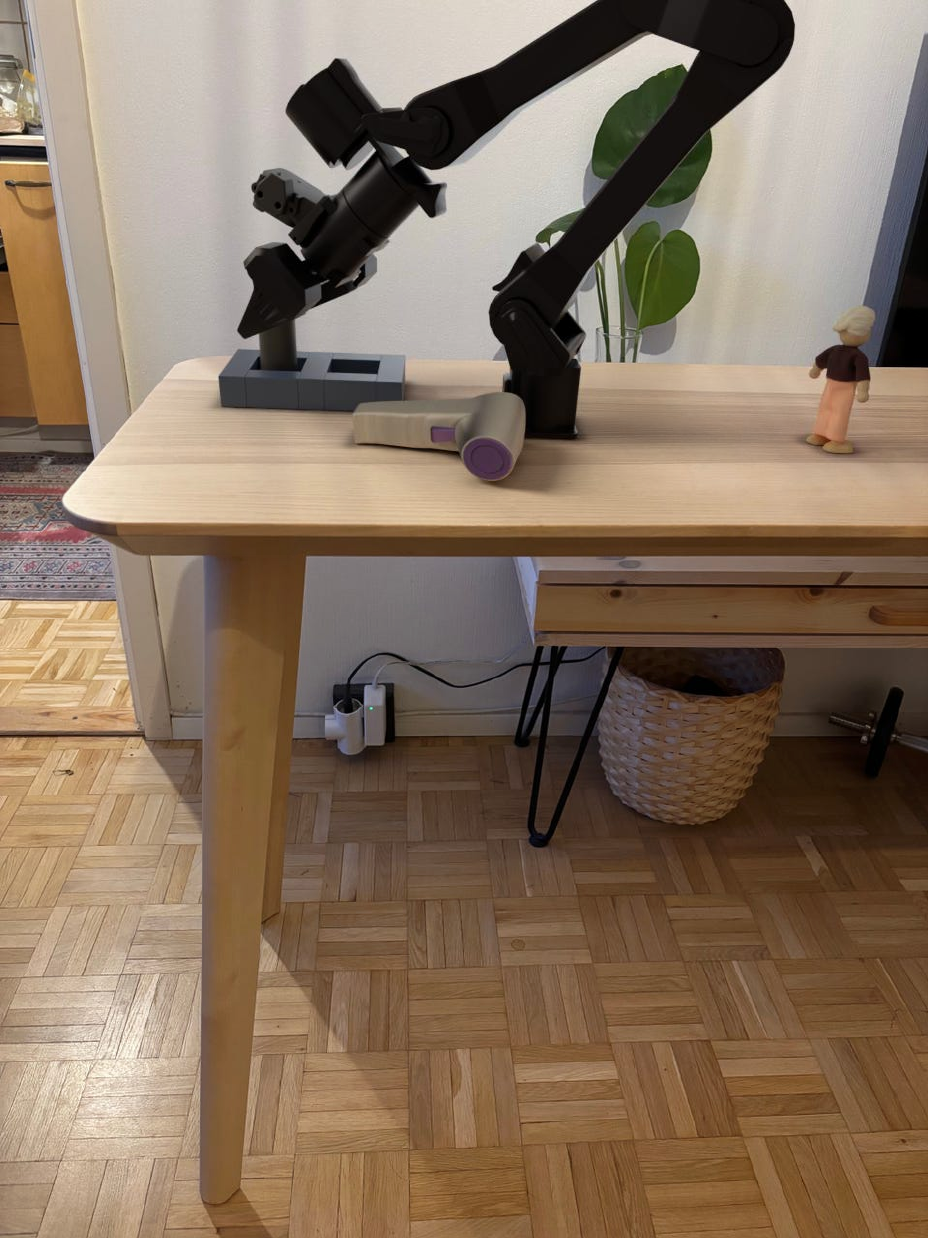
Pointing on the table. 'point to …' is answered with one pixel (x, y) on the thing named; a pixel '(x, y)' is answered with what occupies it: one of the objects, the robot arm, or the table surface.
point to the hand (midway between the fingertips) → (263, 324)
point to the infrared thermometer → (451, 429)
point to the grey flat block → (313, 381)
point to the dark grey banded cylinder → (279, 348)
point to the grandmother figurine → (842, 379)
